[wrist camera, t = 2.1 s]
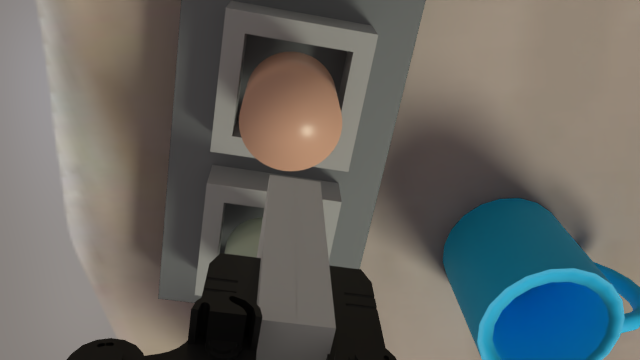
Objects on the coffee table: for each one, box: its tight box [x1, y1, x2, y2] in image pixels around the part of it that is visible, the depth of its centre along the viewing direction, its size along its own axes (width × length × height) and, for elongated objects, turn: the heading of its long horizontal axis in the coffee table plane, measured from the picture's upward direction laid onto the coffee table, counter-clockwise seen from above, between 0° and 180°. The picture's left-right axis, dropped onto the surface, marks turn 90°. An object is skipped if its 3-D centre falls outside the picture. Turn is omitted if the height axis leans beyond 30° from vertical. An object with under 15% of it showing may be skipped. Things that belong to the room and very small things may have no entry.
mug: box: [443, 198, 640, 360], centre depth 36 cm, size 12×8×8 cm
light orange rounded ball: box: [239, 52, 342, 171], centre depth 26 cm, size 4×4×4 cm
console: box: [158, 0, 426, 303], centre depth 31 cm, size 30×12×5 cm, turn 170°
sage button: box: [225, 217, 263, 258], centre depth 30 cm, size 4×4×4 cm
